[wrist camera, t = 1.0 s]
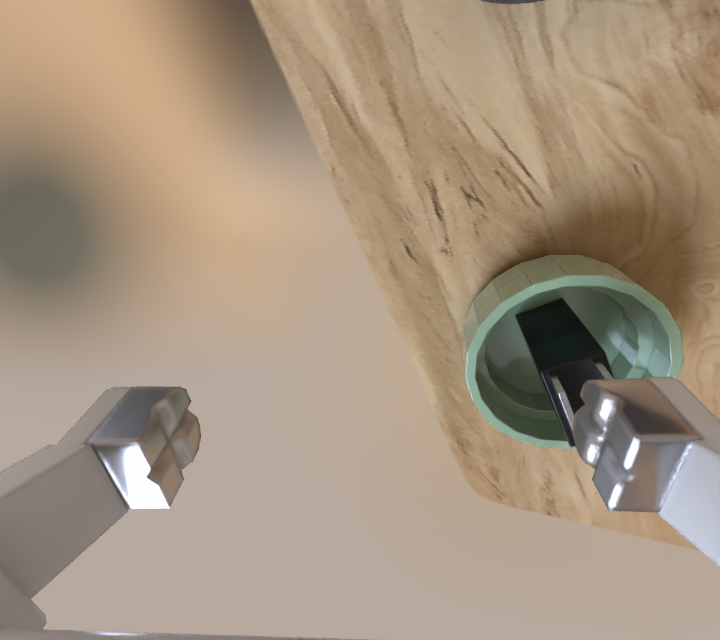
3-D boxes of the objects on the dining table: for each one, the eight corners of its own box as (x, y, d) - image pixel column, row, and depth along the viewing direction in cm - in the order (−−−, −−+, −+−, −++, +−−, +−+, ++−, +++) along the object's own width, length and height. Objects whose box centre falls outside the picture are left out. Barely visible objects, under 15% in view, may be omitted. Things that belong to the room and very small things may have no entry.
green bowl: (652, 386, 27) (690, 430, 23) (483, 417, 30) (490, 460, 26) (633, 227, 23) (674, 246, 19) (442, 281, 27) (443, 307, 22)
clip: (586, 362, 27) (647, 455, 19) (539, 376, 28) (580, 471, 20) (562, 297, 25) (619, 369, 17) (514, 314, 26) (547, 390, 18)
